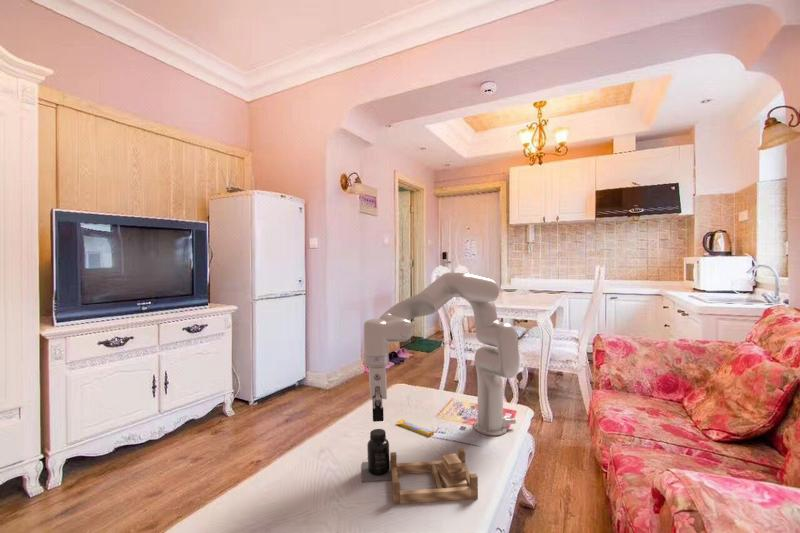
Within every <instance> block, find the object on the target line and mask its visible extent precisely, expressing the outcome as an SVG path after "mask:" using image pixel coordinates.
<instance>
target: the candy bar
mask: <svg viewBox="0 0 800 533" xmlns="http://www.w3.org/2000/svg"><path fill="white" fill-rule="evenodd" d="M396 425H397V426H398V425H399V426H400V427H402V428H405V429H407V430H409V431H412V432H415V433H417V434H419V435H422V436H424V437H428V438H431V436H432V435H434V434H435V430H430V429H427V428H425V427H421V426H419V425H417V424H414V423H412V422H410V421H407V420H405V419H400V420H398V421H396ZM433 433H434V434H433Z"/></svg>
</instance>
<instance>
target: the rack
mask: <svg viewBox="0 0 800 533" xmlns="http://www.w3.org/2000/svg"><path fill="white" fill-rule="evenodd" d="M457 457H458V458H459V459H460V460H461V462H462V468H463V469H465V470H466V482H467V487H454V488H444V487H443V485H442V484H441V482H440V479H439V475H438V472H437V468H438V463H441V462H442V460H432V461H430V460H429V461H415V462H399V463H398V462H397V461H398V460H397V452H395V451H393V452H391V451H390V452H389V458H390V462H391V474H392V480H391V482H392V483H391V485H392V498H393V499H392V500H393V505H401V504H412V503H413V504H415V503H427V502H444V501H460V500H470V499H471V500H477V499H479V491H478V490H479V488H478V485H479V484H478V483H479V482H478V481H479V480H478V479H479V478H478V475H477V473H471V472H470V471H469V469H468V467H467V464H466V450H465V448H463V447H462V448H460V447H459V448H457ZM421 473H431V476H432V480H433V483H434V488H428V489H413V490H401V480H400V478H399V477H398V475H404V474H405V475H407V474H421Z"/></svg>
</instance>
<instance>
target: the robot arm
mask: <svg viewBox="0 0 800 533" xmlns="http://www.w3.org/2000/svg"><path fill="white" fill-rule="evenodd" d="M499 296H500V288H499V285H498V283H497V282H496V281H495V280H493V279H490V278H488V277H487V278H486V277H482V276H479V275H475V274H471V273H468V272H451V271H450V272H446V273H445V272H444V273H443V274H442V275H441V276H439V277H438V278H436V279H435V280H433V282H431V284H429V285H428V286H426V287H425V288H424V289H422V291H420V292H419V293H417V294H415V295H412V296H410V297H408V298H406V299H403V300H402V301H399V302H398V303H395V304H394V305H393V306H391V307H390V308H389V309H388V310H386V311H385V312H384V313H383V314H382V315H381V316H380V317H379V318H374V319H368V320H366V321H365V322H364V323H363V324H364V325H363V344H364V345H363V346H364V366H365V367H367V368H368V382H369V383H368V385H369V393H370V399H371V400H372V422H373V423H374V422H377V423H378V422H383V421H384V418H385V417H384V406H383V400H386V399H387V398H388V394H387V390H388V389H387V368H386V367H387V366H389V364H390V358H389V357H390V355H389V354H390V352H389V348H390V347H389V343H402V342H406V341H409V340H410V339H411V338H412V337H413V335H414V332H415V328H414V325H413V323H412V321H410V320H412V319H414V318H419V317H424V316H425V317H426V316H430V315H433V314H436V313H437V312H438V311H439V310H440V309H441V308H442V307H443V306H444V305H446V304H447V303H448V302H450V301H451V300H452V299H453V298H460V299H464V300H466V301H467V302H468V303H469V305H470V306H471V307H472V311H473V317H474V328H475V335H476V336H475V337H476V340H477V341H478V342H479V343H481V344H483V346H481V347H479V348H478V349H477V350H476V351H475V354H474V365H475V370H476V377H477V378H476V379H477V420H475V421H474V423H473V428H474V429H475V431H477V432H478V433H480V432H481V433H480V434H482V433H483V434H482V435H485V436H501V435H505V434H506V433H507V431H508V425H514V424H516V423H517V420H516V418H515V417H514V418H510V416H509V415H508V416H504V384H503V378H505V379H512V378H514V377H516V376H517V374H518V373H519V371H520V370H519V369H520V364H521V362H520V353H519V352H520V349H519V338H518V334H517V331H516V329H515V328H514V326H513V325H511V324H509V323H508V322H502V321H499V319H498V314H497V307H496V303H495V301H496V300H497V299H498V298H499Z"/></svg>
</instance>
